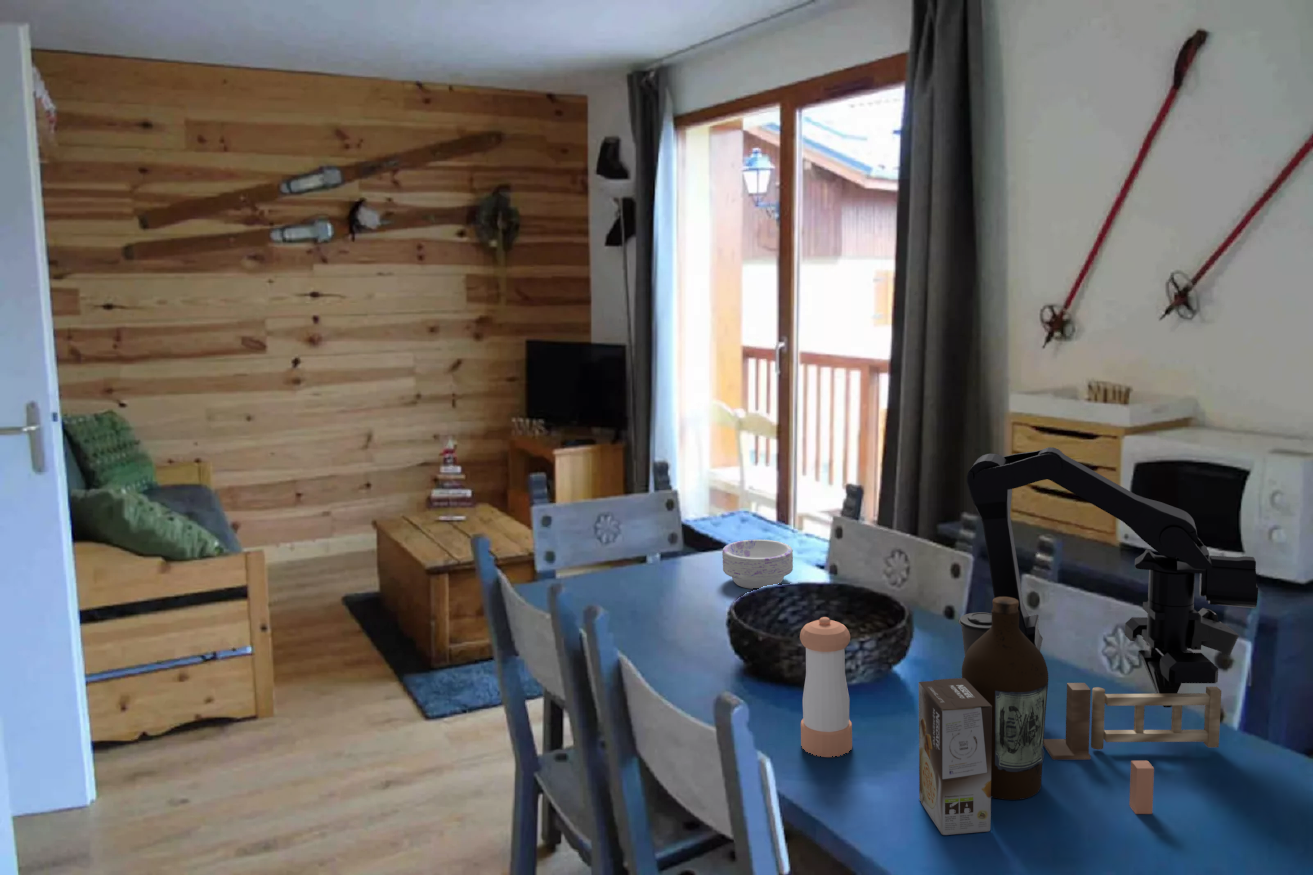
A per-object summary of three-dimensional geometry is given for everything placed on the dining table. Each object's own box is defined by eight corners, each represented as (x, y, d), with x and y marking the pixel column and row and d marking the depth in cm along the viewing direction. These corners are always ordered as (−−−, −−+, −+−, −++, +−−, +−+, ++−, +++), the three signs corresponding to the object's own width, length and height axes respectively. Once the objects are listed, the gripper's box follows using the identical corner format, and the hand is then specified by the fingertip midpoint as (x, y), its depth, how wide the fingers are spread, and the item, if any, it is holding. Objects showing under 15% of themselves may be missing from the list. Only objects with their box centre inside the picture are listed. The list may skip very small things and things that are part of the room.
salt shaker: (855, 737, 151) (854, 611, 148) (848, 760, 145) (846, 628, 142) (806, 732, 154) (804, 607, 151) (796, 754, 147) (793, 624, 144)
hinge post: (1052, 759, 142) (1054, 694, 141) (1042, 743, 147) (1043, 679, 146) (1091, 759, 142) (1093, 693, 140) (1080, 742, 147) (1081, 679, 145)
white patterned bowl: (783, 596, 217) (783, 559, 216) (714, 591, 222) (713, 555, 221) (800, 575, 231) (799, 540, 230) (734, 571, 236) (733, 537, 235)
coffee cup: (955, 680, 170) (955, 621, 169) (960, 662, 178) (960, 606, 176) (1007, 685, 167) (1008, 626, 166) (1010, 667, 175) (1011, 610, 173)
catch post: (1135, 814, 128) (1137, 768, 127) (1129, 805, 130) (1131, 760, 129) (1152, 814, 128) (1154, 768, 127) (1145, 805, 130) (1147, 760, 129)
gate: (1093, 749, 143) (1094, 692, 142) (1089, 744, 145) (1090, 687, 144) (1218, 749, 142) (1221, 691, 141) (1213, 743, 144) (1216, 686, 142)
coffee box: (993, 832, 125) (994, 706, 123) (941, 836, 125) (942, 710, 122) (964, 794, 134) (965, 676, 132) (916, 798, 134) (916, 680, 131)
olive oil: (946, 770, 141) (947, 592, 137) (1016, 759, 143) (1019, 584, 139) (988, 808, 130) (990, 618, 126) (1063, 796, 133) (1067, 608, 129)
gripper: (1263, 623, 134) (1256, 736, 137) (1204, 580, 153) (1200, 680, 155) (1172, 623, 136) (1168, 735, 138) (1125, 580, 154) (1122, 680, 157)
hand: (1166, 706), depth 147 cm, fingers closed
